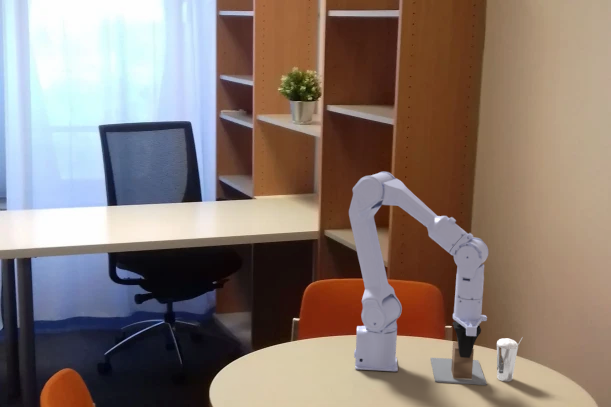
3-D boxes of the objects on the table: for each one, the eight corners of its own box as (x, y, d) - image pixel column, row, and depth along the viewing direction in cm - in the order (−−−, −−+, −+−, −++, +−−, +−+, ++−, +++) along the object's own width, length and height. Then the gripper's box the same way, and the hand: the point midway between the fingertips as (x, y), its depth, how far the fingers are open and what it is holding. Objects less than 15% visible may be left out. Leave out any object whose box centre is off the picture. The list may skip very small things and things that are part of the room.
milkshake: (520, 384, 159) (523, 340, 157) (494, 381, 160) (497, 338, 159) (518, 376, 164) (521, 333, 162) (493, 373, 165) (496, 331, 163)
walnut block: (453, 378, 160) (455, 348, 159) (451, 371, 164) (453, 341, 163) (471, 379, 160) (473, 349, 159) (469, 372, 164) (471, 342, 163)
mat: (435, 382, 159) (435, 380, 159) (430, 359, 172) (430, 357, 172) (486, 385, 158) (486, 383, 158) (478, 361, 171) (478, 360, 171)
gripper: (493, 307, 148) (488, 370, 151) (482, 287, 162) (478, 345, 165) (458, 305, 149) (454, 368, 151) (450, 285, 163) (447, 343, 165)
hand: (464, 356), depth 158 cm, fingers closed
